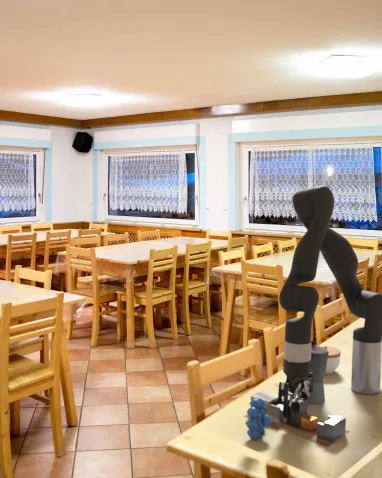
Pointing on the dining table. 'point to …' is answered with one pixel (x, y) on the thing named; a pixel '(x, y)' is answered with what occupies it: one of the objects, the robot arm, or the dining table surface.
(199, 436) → the dining table surface
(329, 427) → the socket
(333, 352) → the lidded jar
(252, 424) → the grapes
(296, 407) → the grey block
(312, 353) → the moka pot
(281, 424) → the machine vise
